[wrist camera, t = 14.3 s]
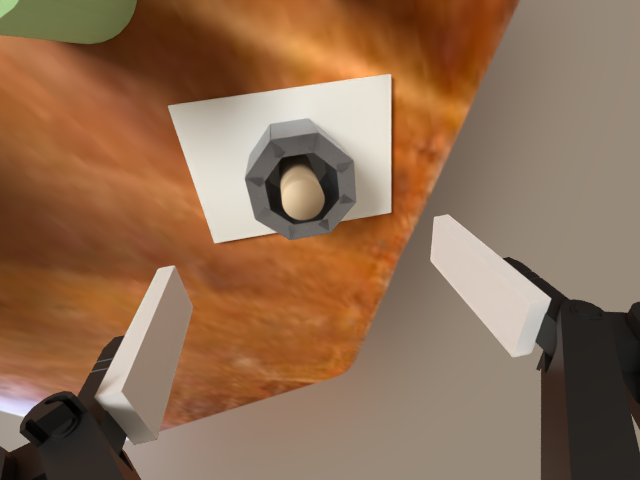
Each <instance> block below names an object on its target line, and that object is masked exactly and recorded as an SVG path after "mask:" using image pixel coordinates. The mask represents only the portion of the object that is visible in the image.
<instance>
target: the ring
mask: <svg viewBox="0 0 640 480" xmlns="http://www.w3.org/2000/svg"><path fill="white" fill-rule="evenodd" d="M307 153H315V154H316V155H317V156H319V157H320V158H321V159H323V160H324V161H325V168H326V174H325V175H324V176H323V178H322V179H321V180H320V182H319V184H320V186H321V189H322V191H323V194H324V199H325V200H324V206H323V208H322V210H321V211H320V213H319V214H318V215H316V216H315V217H313V218H311V219H308V220H297V219H294V218H292V217H291V216H289V215H288V214H287V213H286V212H285V210H284V208H283V205H282V197H281V189H279V188H278V187H276V186H275V185H273V184H272V183H270V180H269V175H270V173H271V172H272V171H273V169H274V168H275V166H276V165H277V164H278V162H279V161H280V159H281V158H282V157H288V156H294V155H301V154H307ZM245 182H246V186H247V190H248V194H249V198H250V202H251V206H252V210H253V214H254V218H255V220H257V221H258V222H260V223H262V224H263V225H265V226H267V227H269V228H270V229H272V230H274V231H275V232H277V233H279V234H280V235H282V236H284V237H286V238H287V239H289V240H294V239H299V238H305V237H311V236H316V235H322V234H328V233H331V232H332V230H333V229H334V228H335V227H336V226H337V225H338V223H339V222H340V221H341V220H342V219H343V217H344V216H345V215H346V214H347V213H348V212H349V210H350V209H351V208H352V207H353V206H354V204H355V203H356V188H355V172H354V161H353V159H352V158H351V157H350V156H349V155H348V153H347V152H346V151H345V150H344V149H343V148H342V147H341V146H340V144H339V143H338V142H337V141H336V140H334V139H333V138H332V137H331V136H330V135H328V134H327V133H326V132H325V131H323V130H322V129H321V128H320V127H318V126H317V125H316V124H315V123H313V122H312V121H311V120H310V119H308V118H306V119H299V120H293V121H286V122H279V123H273V124H270V125H269V126H268V128H267V129H266V131H265V132H264V134H263V135H262V137H261V138H260V140H259V141H258V143H257V144H256V146H255V147H254V149H253V150H252V152H251V153H250V155H249V159H248V164H247V169H246V174H245Z"/></svg>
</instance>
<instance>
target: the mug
mask: <svg viewBox="0 0 640 480" xmlns="http://www.w3.org/2000/svg"><path fill="white" fill-rule="evenodd" d="M136 4H137V0H0V35H6V36H15V37H24V38H33V39H43V40H52V41H61V42H70V43H80V44H94V43H101V42H104V41H106V40H109V39H112V38H113V37H115V36H116V35H118V34H119V33H120V32H122V30H123V29H124V28H125V27H126V26H127V25H128V23H129V22H130V20H131V18H132V16H133V14H134V11H135V7H136Z"/></svg>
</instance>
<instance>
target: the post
mask: <svg viewBox="0 0 640 480" xmlns="http://www.w3.org/2000/svg"><path fill="white" fill-rule="evenodd" d="M279 177H280V187H281V197H282V205H283V208H284V210H285V212H286V213H287V214H288V215H289V216H291V217H292V218H294V219H297V220H308V219H311V218H313V217H315V216H316V215H318V214H319V213H320V211H321V210H322V208H323V206H324V200H325V199H324V194H323V191H322V189H321V186H320V184H319V182H318V179H317V177H316V175H315V172H314V170H313V168H312V165H311V163H310V161H309V159H308V157H307V156H306V155H305V154H301V155H294V156H288V157H282V158H281V159H280V161H279Z"/></svg>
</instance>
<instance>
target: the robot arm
mask: <svg viewBox="0 0 640 480" xmlns="http://www.w3.org/2000/svg"><path fill="white" fill-rule="evenodd" d="M431 262H432V263H433V264H434V266H435V267H436V268H437V269H438V270H439V271H440V273H441V274H442V275H443V276H444V277H445V278H446V280H447V281H448V282H449V283H450V284H451V285H452V287H453V288H454V289H455V290H456V291H457V293H458V294H459V295H460V296H461V297H462V298H463V299H464V301H465V302H466V303H467V304H468V305H469V306H470V308H471V309H472V310H473V311H474V312H475V314H476V315H477V316H478V317H479V318H480V319H481V320H482V322H483V323H484V324H485V325H486V327H487V328H488V329H489V330H490V331H491V332H492V334H493V335H494V336H495V337H496V338H497V339H498V341H499V342H500V343H501V344H502V345H503V346H504V348H505V349H506V350H507V351H508V352H509V353H510V354H511V356H512V357H518V356H522V355H527V354H531V353H532V351H533V348H534V346H535V343H537V344H539V346H540V347H541V348H542V349H543V353H542V355H541V358H540V361H539V363H538V366H537V370H540V369H541V480H640V452H639V447H638V443H637V438H636V434H635V430H634V425H633V421H632V416H633V418H634V420H635V422H636V423H637V425H638V427H639V429H640V302H637V303H634V304H633V305H632V306H631V309H630V310H629V312H628V313H624V312H604V311H603V310H602V309H601V308H599V307H597V306H595V305H594V304H592V303H588V302H585V301H582V300H569V299H568V298H567V297H565V296H564V295H563V294H562V293H560V292H559V291H558V290H556V289H555V288H554V287H553V286H551V285H550V284H549V283H547V282H546V281H545V280H543V279H542V278H540V277H539V276H538V275H537V274H536V273H534V272H532V271H531V270H530V269H529V268H528V267H527V266H525V265H524V264H523V263H521V262H519V261H517V260H514V259H512V258H510V257H507V258H501V257H500V256H498V255H497V254H496V253H495V252H494V251H492V250H491V249H490V248H489V247H487V246H486V245H485V244H484V243H483V242H481V241H480V240H479V239H477V238H476V237H475V236H474V235H473V234H471V233H470V232H469V231H468V230H466V229H465V228H464V227H463V226H462V225H460V224H459V223H458V222H457V221H455V220H454V219H453V218H452V217H451V216H449V215H444V216H437V217H434V224H433V236H432V248H431ZM192 311H193V305H192V303H191V301H190V299H189V296H188V294H187V292H186V290H185V287H184V285H183V283H182V281H181V278H180V276H179V274H178V272H177V269H176V267H175V265H174V266H169V267H163V268H158V270H157V272H156V274H155V276H154V278H153V280H152V282H151V284H150V286H149V288H148V290H147V292H146V294H145V296H144V298H143V300H142V302H141V304H140V306H139V308H138V310H137V312H136V315H135V317H134V319H133V321H132V323H131V325H130V327H129V329H128V331H127V333H126V335H124V336H119V337H115V338H114V339H113V340H112V341H111V342H110V343H109V344H108V345H107V346H106V347H105V348H104V349H103V351H102V353H101V354H100V356H99V358H98V360H97V363H96V364H95V365H94V367H93V369H92V373H90V374H89V376H88V378H87V380H86V382H85V384H84V385H83V387H82V389H81V391H80V393H79V394H78V396H77V397H76V396H75V395H74V394H73V393H72V392H68V391H63V392H59V393H56V394H53V395H51V396H49V397H47V398H45V399H44V400H42V401H41V402H40V403H38V404H37V405H36V406H34V407H33V408H32V409H31V410H30V412H29V413H28V414H27V415H26V416H25V418H24V419H23V421H22V423H21V425H20V433H21V434H22V435H23V436H24V437H26V438H27V439H28V440H29V441H30V443H28V444H26V445H24V446H22V447H20V448H18V449H16V450H13V451H12V452H8V451H6V450H5V449H4V448H2V447H0V480H141V479H140V477H139V475H138V473H137V472H136V470H135V468H134V467H133V465H132V463H131V461H130V459H129V457H128V456H127V454H126V453H125V451H124V450H123V449H122V447H123V445H124V442H125V439H126V437H128V438H129V440H130V441H131V442H132V443H133V444H134V445H136V444H140V443H145V442H149V441H154V440H157V438H158V435H159V431H160V427H161V424H162V420H163V417H164V413H165V409H166V406H167V402H168V398H169V395H170V391H171V388H172V384H173V380H174V377H175V373H176V369H177V366H178V362H179V358H180V355H181V351H182V348H183V344H184V340H185V337H186V333H187V329H188V326H189V322H190V319H191V315H192ZM631 414H632V416H631Z"/></svg>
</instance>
